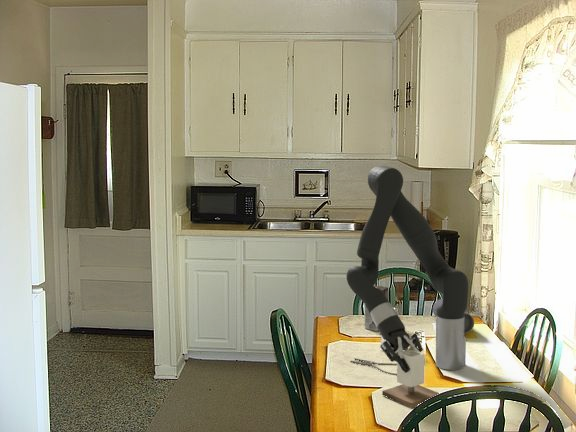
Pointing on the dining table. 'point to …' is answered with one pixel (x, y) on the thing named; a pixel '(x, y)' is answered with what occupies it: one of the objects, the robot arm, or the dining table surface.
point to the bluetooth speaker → (467, 317)
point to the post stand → (409, 394)
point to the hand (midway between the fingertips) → (415, 368)
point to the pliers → (373, 365)
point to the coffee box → (368, 319)
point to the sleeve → (412, 369)
